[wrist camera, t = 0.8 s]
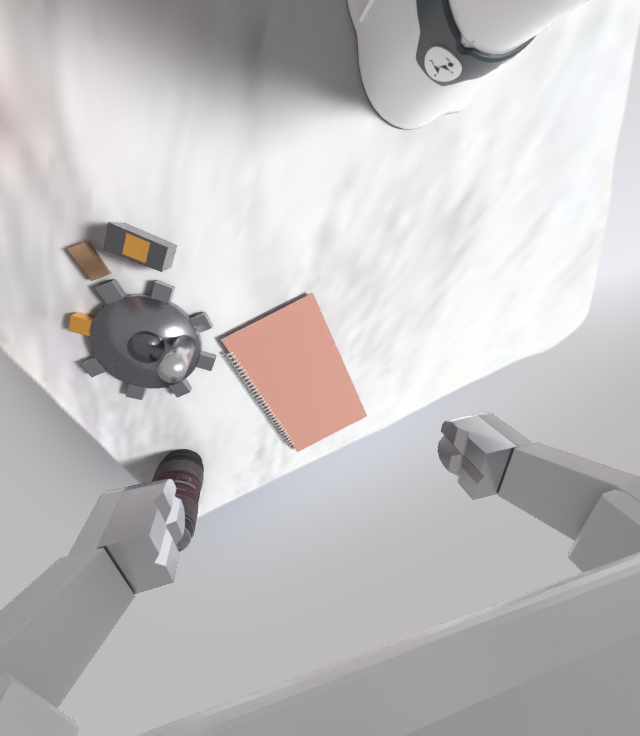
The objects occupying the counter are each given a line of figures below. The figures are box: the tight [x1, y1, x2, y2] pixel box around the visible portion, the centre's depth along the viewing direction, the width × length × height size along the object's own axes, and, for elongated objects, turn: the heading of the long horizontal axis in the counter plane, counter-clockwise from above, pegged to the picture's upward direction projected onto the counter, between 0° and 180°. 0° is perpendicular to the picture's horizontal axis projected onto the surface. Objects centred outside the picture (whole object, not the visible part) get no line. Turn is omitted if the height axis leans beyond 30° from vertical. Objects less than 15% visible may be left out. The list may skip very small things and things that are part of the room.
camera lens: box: [152, 449, 204, 552], centre depth 46 cm, size 8×8×15 cm
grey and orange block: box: [104, 222, 177, 272], centre depth 34 cm, size 3×6×5 cm, turn 64°
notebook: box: [221, 293, 367, 452], centre depth 50 cm, size 27×17×2 cm, turn 23°
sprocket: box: [69, 279, 216, 400], centre depth 37 cm, size 18×18×10 cm
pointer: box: [67, 242, 111, 281], centre depth 35 cm, size 4×2×2 cm, turn 19°
